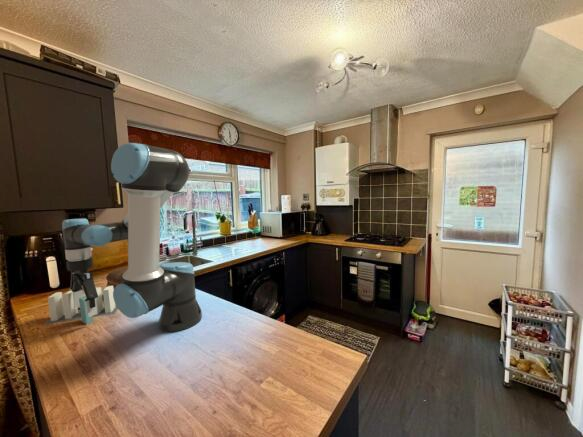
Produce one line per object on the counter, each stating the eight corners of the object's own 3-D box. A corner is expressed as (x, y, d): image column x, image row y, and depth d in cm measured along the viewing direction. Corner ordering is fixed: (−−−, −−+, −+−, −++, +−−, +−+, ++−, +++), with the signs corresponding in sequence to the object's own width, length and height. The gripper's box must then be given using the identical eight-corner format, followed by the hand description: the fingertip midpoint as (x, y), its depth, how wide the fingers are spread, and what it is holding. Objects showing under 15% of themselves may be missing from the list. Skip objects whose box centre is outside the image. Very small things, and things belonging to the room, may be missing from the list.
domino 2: (77, 312, 102) (75, 290, 101) (71, 318, 97) (68, 294, 96) (72, 313, 101) (69, 291, 100) (65, 319, 97) (62, 295, 96)
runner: (122, 305, 108) (121, 304, 108) (113, 314, 100) (113, 313, 100) (56, 314, 101) (56, 314, 101) (42, 325, 93) (41, 324, 93)
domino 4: (115, 307, 106) (113, 285, 105) (110, 312, 101) (108, 289, 100) (110, 307, 105) (107, 286, 104) (105, 313, 101) (102, 290, 100)
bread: (138, 282, 138) (136, 260, 137) (170, 291, 123) (168, 267, 121) (104, 293, 124) (101, 269, 122) (135, 305, 108) (132, 277, 107)
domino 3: (103, 308, 105) (100, 287, 104) (98, 314, 100) (95, 291, 99) (97, 309, 104) (95, 287, 103) (92, 315, 99) (89, 292, 98)
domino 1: (64, 314, 100) (61, 291, 100) (57, 320, 96) (53, 296, 95) (58, 315, 100) (55, 292, 99) (51, 321, 95) (47, 297, 94)
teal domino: (88, 319, 96) (85, 296, 95) (93, 322, 94) (90, 298, 93) (82, 322, 95) (78, 298, 94) (86, 325, 92) (83, 300, 91)
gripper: (105, 260, 88) (110, 314, 90) (79, 252, 101) (85, 300, 104) (79, 265, 82) (86, 324, 84) (55, 256, 95) (62, 307, 97)
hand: (85, 311), depth 94 cm, fingers open, 13 cm apart
